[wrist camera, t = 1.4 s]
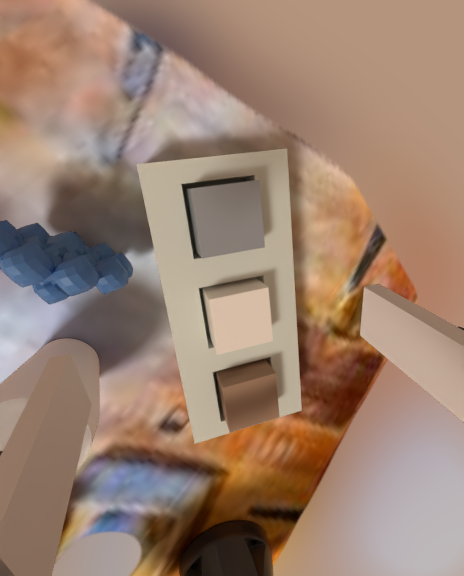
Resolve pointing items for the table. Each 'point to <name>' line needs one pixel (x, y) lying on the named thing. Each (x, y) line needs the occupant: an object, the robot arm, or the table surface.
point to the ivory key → (238, 314)
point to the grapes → (59, 262)
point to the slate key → (226, 218)
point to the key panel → (223, 276)
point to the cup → (20, 384)
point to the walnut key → (248, 394)
